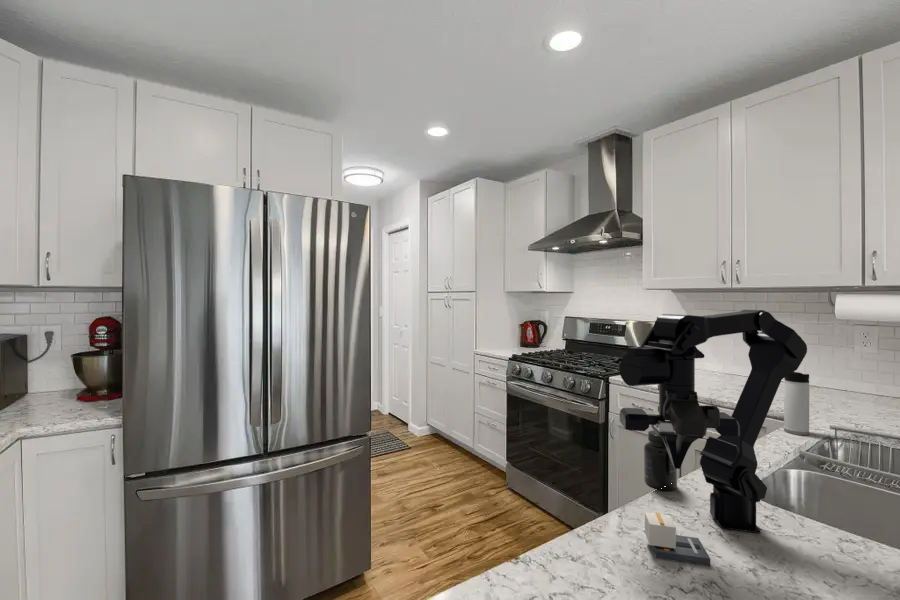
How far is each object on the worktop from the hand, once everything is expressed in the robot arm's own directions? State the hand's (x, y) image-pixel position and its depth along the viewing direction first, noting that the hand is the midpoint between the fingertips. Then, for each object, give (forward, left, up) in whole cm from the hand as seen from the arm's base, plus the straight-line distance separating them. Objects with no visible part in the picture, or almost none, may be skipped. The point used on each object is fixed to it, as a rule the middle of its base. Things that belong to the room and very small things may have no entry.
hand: (676, 468), depth 76 cm
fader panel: (+1, +6, -12) cm, 13 cm away
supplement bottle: (-2, -21, -12) cm, 24 cm away
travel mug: (-53, -74, -12) cm, 92 cm away
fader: (+4, +6, -11) cm, 13 cm away
